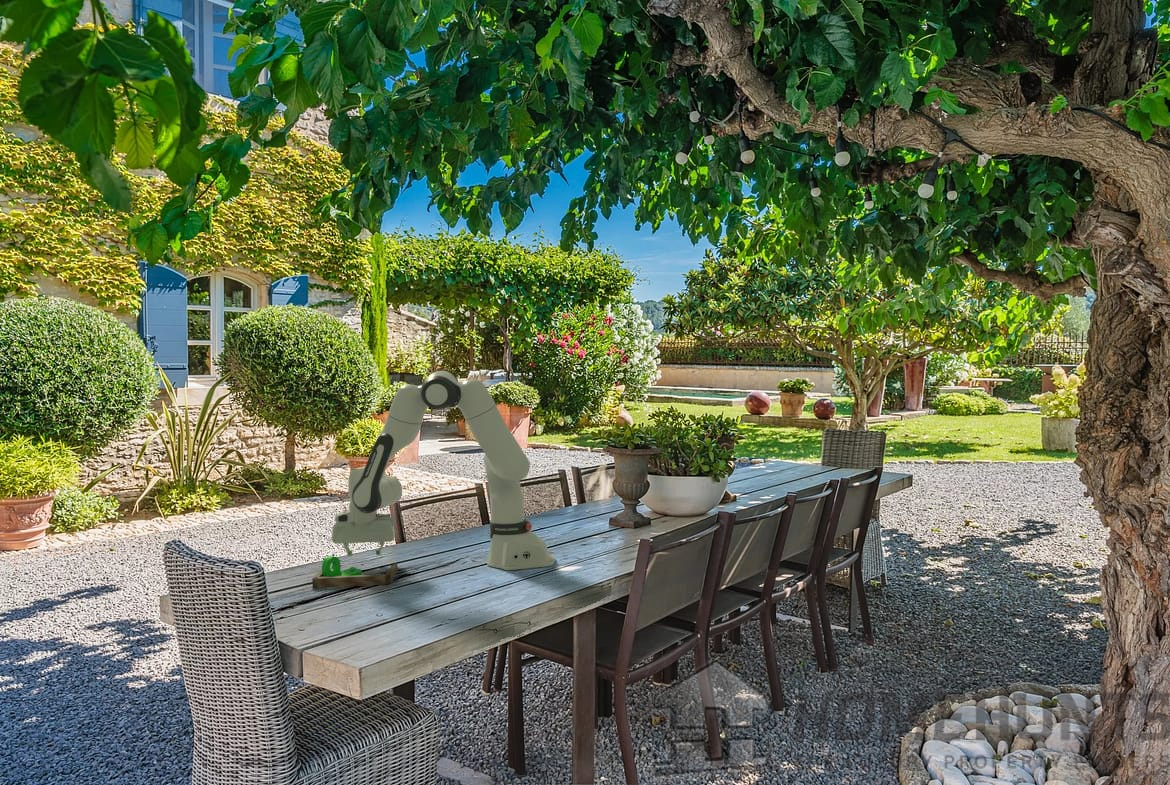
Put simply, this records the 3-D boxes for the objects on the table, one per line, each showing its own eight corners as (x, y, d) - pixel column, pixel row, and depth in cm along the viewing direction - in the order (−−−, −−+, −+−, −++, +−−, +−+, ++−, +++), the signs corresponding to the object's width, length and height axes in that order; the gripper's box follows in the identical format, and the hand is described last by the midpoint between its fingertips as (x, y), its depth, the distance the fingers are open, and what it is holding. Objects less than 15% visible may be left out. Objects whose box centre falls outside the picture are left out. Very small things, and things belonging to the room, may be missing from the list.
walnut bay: (397, 572, 243) (397, 563, 243) (390, 585, 230) (390, 575, 229) (324, 575, 241) (323, 566, 241) (312, 588, 228) (312, 578, 227)
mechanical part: (336, 586, 230) (335, 560, 230) (322, 583, 233) (321, 558, 233) (365, 576, 241) (364, 551, 240) (351, 573, 243) (351, 549, 243)
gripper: (396, 511, 257) (397, 551, 257) (334, 513, 255) (335, 554, 255) (393, 515, 250) (394, 556, 251) (329, 517, 249) (331, 559, 249)
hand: (364, 555), depth 253 cm, fingers open, 8 cm apart
